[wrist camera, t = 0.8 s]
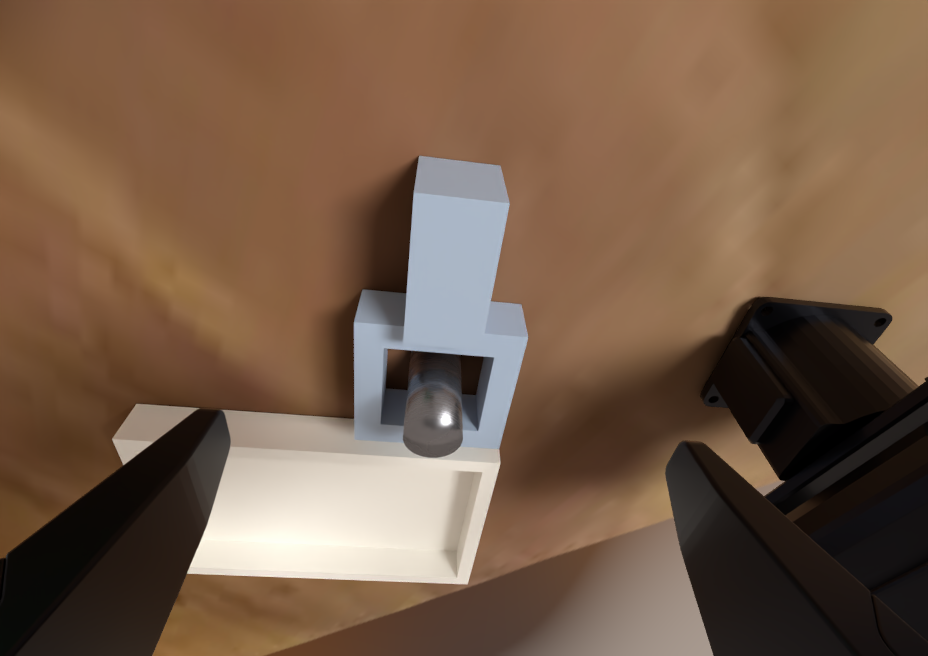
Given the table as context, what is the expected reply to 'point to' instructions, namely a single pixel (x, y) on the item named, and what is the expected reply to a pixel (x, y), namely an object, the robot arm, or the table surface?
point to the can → (433, 404)
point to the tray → (331, 500)
